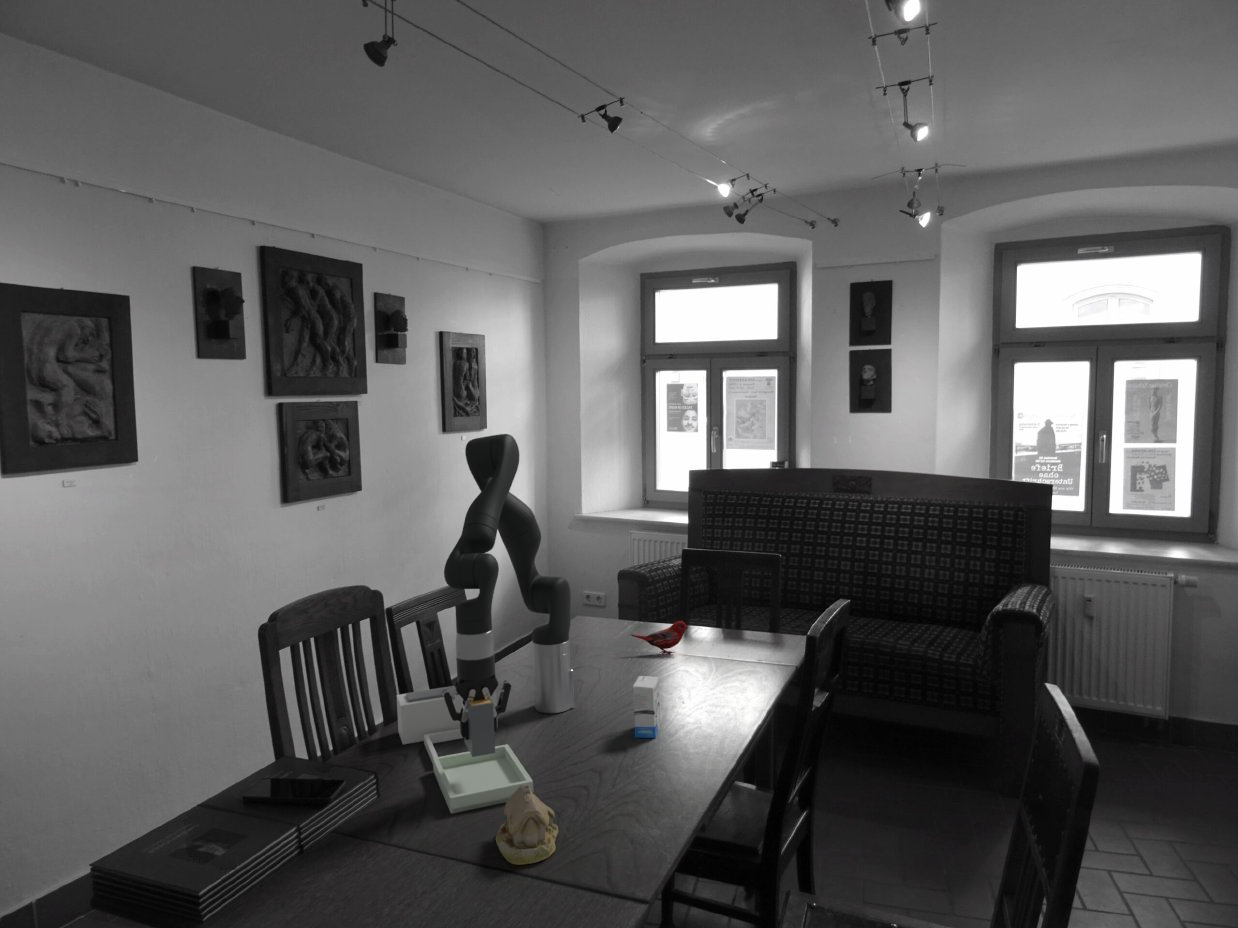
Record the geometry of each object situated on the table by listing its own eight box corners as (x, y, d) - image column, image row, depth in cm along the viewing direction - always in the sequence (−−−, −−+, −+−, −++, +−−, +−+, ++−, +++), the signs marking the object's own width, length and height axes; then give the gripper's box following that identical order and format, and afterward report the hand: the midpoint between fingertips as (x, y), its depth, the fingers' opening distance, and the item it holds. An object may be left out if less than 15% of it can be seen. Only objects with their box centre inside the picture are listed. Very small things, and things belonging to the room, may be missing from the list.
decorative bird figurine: (689, 654, 250) (688, 621, 249) (631, 656, 250) (630, 623, 250) (689, 651, 253) (688, 619, 252) (631, 653, 253) (630, 621, 252)
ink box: (655, 738, 186) (653, 687, 186) (633, 737, 187) (632, 687, 187) (661, 724, 195) (659, 675, 194) (640, 723, 196) (638, 674, 195)
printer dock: (490, 716, 204) (488, 678, 203) (515, 753, 181) (513, 710, 180) (398, 732, 196) (396, 692, 195) (413, 772, 173) (410, 727, 172)
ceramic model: (492, 828, 149) (490, 774, 148) (554, 819, 151) (552, 766, 151) (500, 870, 135) (498, 810, 134) (568, 858, 138) (565, 800, 137)
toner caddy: (486, 738, 171) (484, 690, 170) (495, 752, 163) (493, 702, 163) (464, 742, 169) (462, 694, 169) (472, 756, 162) (470, 706, 161)
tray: (508, 757, 179) (507, 744, 179) (533, 796, 160) (533, 781, 160) (433, 771, 173) (432, 757, 173) (451, 813, 154) (450, 797, 154)
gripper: (505, 643, 171) (509, 724, 172) (436, 652, 166) (440, 736, 167) (515, 652, 164) (518, 736, 165) (442, 662, 159) (446, 749, 160)
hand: (478, 735), depth 166 cm, fingers closed on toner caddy, 4 cm apart
